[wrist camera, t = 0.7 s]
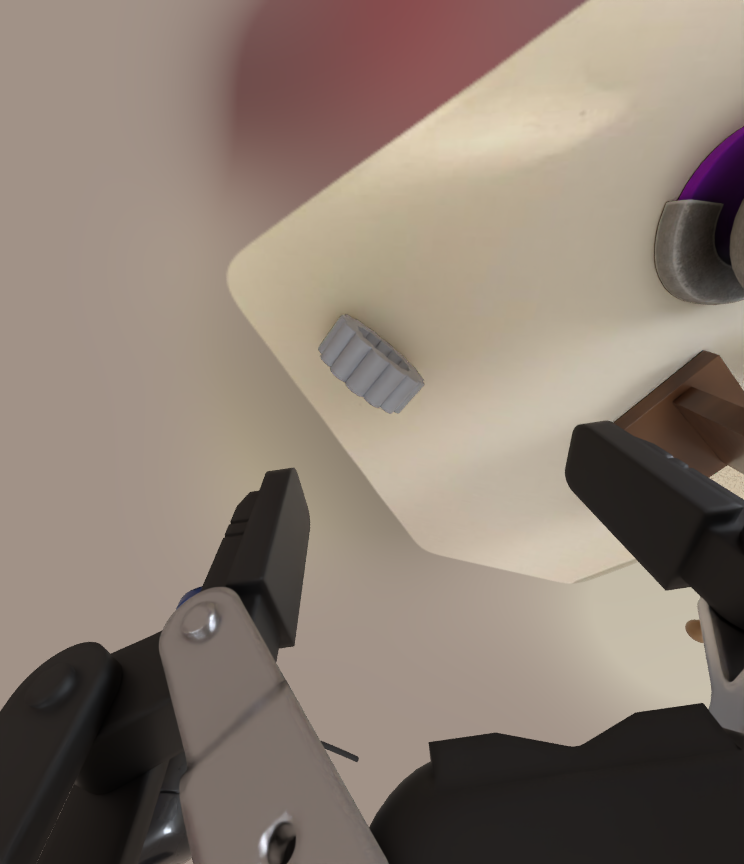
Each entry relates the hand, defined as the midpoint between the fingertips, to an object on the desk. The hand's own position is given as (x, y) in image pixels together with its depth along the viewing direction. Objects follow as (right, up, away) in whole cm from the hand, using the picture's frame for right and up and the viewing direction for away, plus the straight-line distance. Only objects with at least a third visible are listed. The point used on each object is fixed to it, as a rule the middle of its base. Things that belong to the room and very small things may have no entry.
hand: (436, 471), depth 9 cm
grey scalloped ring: (-2, +8, +19) cm, 21 cm away
